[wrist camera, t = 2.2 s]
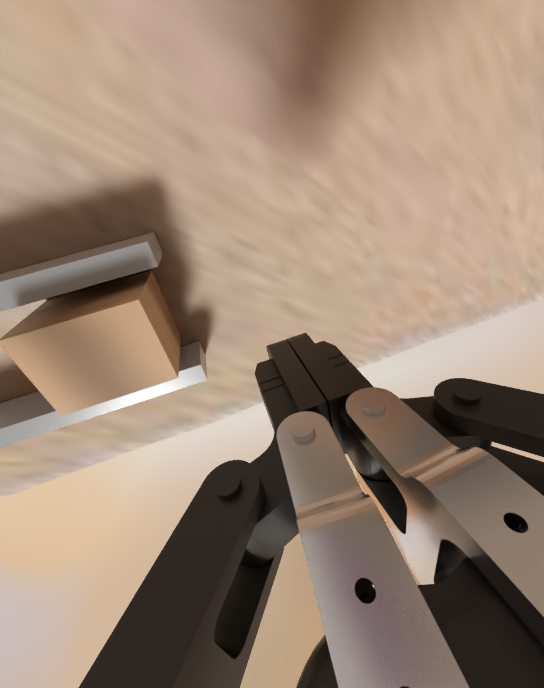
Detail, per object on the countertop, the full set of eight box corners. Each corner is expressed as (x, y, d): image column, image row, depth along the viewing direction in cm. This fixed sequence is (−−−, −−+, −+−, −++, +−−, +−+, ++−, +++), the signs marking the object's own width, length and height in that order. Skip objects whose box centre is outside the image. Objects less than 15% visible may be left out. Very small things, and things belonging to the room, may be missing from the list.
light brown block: (151, 270, 17) (138, 299, 13) (180, 334, 19) (178, 378, 15) (47, 300, 16) (-4, 341, 12) (90, 363, 19) (60, 416, 14)
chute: (154, 231, 16) (147, 241, 13) (205, 354, 20) (207, 380, 18) (-121, 306, 15) (-187, 333, 12) (-2, 420, 19) (-32, 457, 16)
